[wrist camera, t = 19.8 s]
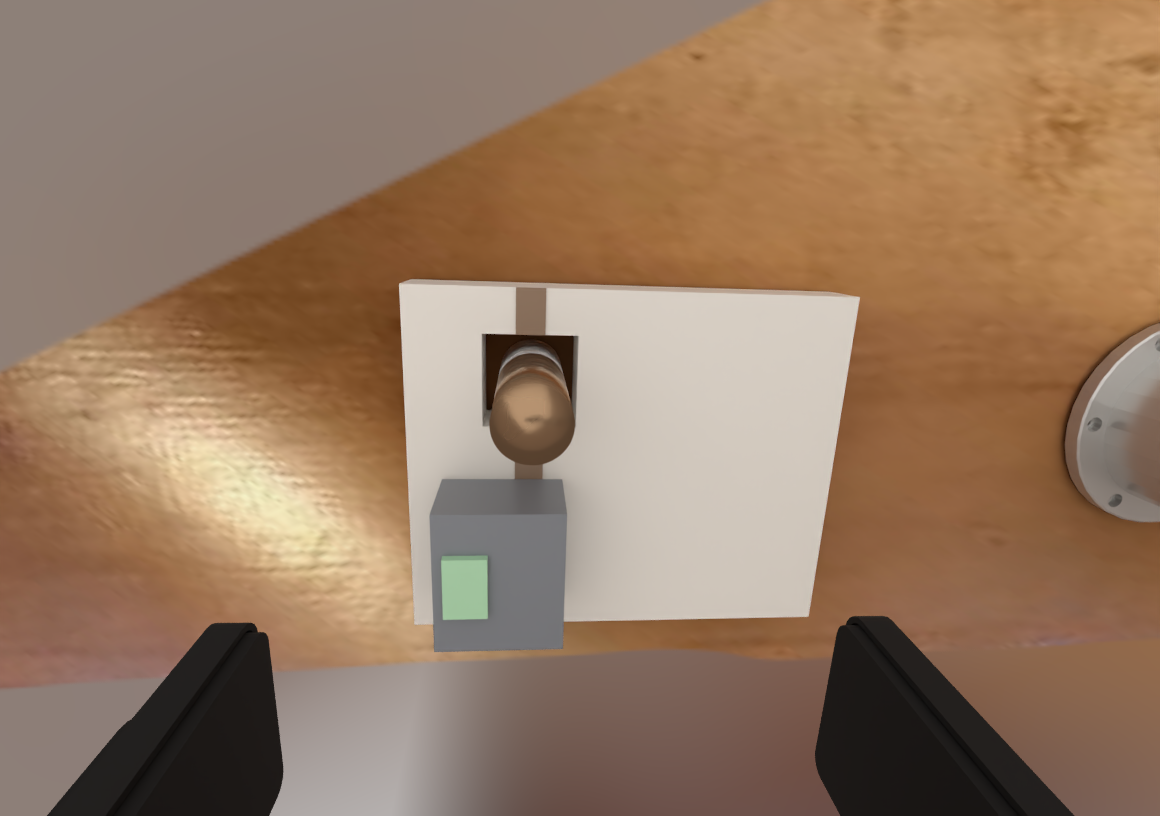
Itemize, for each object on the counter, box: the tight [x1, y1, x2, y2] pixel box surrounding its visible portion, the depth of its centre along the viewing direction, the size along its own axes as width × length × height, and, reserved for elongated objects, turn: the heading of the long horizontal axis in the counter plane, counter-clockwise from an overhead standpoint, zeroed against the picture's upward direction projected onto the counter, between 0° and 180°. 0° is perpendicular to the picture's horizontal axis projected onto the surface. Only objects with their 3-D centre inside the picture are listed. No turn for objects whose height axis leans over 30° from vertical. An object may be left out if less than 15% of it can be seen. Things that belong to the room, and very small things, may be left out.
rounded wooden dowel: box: [489, 339, 575, 465], centre depth 27 cm, size 3×3×10 cm
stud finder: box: [429, 479, 567, 652], centre depth 29 cm, size 6×7×4 cm
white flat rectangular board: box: [399, 279, 860, 625], centre depth 32 cm, size 22×18×3 cm
